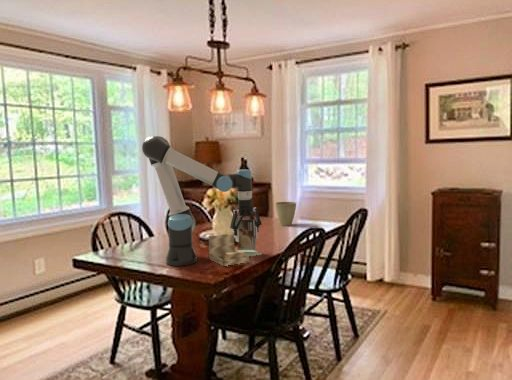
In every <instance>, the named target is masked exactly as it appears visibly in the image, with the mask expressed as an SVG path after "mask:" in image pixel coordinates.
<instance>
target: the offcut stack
mask: <svg viewBox="0 0 512 380" xmlns="http://www.w3.org/2000/svg"><path fill="white" fill-rule="evenodd" d="M242 257H245V252H243V251H238V250H235V252H229V253H225V257H223V258H221V259H223V260H230V259H236V258H242Z"/></svg>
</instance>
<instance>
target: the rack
mask: <svg viewBox="0 0 512 380" xmlns="http://www.w3.org/2000/svg"><path fill="white" fill-rule="evenodd" d="M235 251H236V250H235V235H234V232H232V233H223V234H215V235H208V258H209V259H208V260H210V261H212V262H213V261H214V262H213V263H215V262H216V264H217V263H218V264H217V265H219V264H220V265H219V266H221V265H222V266H221V267H223V266H227V267H229V266H228V265H233V266H235V265H234V264H238V265H241V264H240V263H244V264H248V263H247V262H249V263H250V257H249V256H246V255H245V257H242V258H236V259H230V260H223V259H222V258H225V253H229V252H235Z"/></svg>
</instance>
